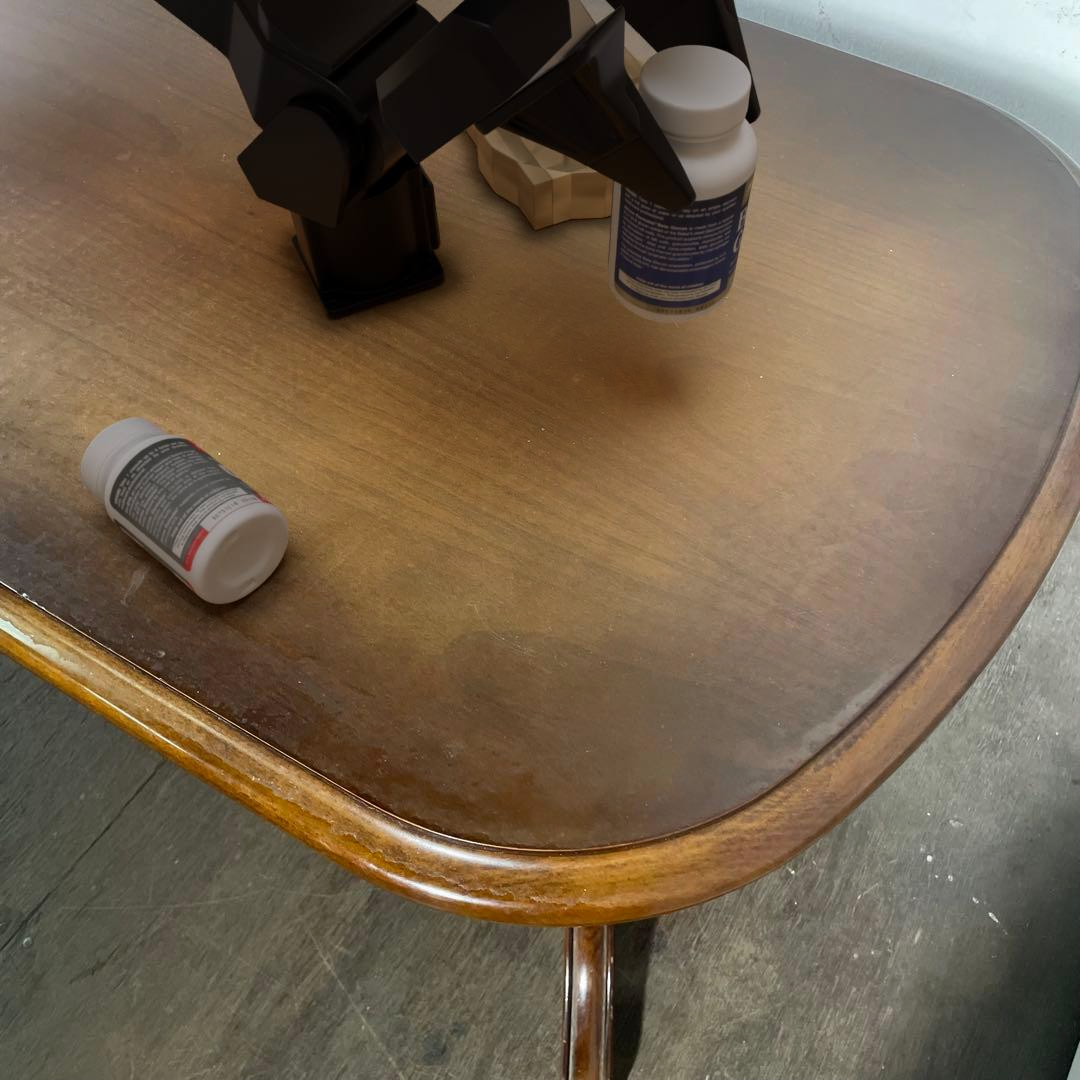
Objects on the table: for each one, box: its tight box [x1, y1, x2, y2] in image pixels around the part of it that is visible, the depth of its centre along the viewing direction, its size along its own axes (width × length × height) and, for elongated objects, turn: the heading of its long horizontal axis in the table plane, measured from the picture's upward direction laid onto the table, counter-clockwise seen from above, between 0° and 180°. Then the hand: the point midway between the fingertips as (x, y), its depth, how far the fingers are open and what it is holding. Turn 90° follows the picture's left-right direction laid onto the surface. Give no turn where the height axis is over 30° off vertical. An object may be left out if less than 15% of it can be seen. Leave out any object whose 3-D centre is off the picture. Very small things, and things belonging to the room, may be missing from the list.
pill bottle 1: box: [79, 417, 290, 605], centre depth 44 cm, size 5×5×8 cm
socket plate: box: [465, 45, 646, 231], centre depth 60 cm, size 11×11×3 cm
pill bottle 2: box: [607, 45, 759, 324], centre depth 42 cm, size 5×5×10 cm
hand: (719, 163), depth 40 cm, fingers closed on pill bottle 2, 5 cm apart
